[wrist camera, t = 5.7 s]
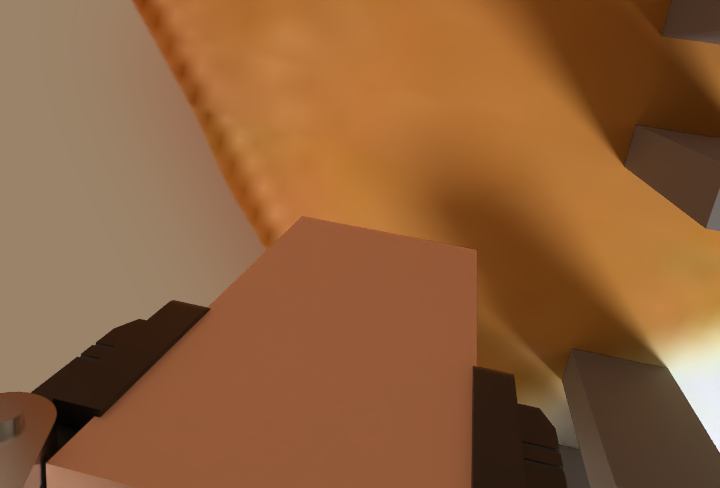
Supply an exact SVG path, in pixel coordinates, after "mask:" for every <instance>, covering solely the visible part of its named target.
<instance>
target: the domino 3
mask: <svg viewBox="0 0 720 488" xmlns="http://www.w3.org/2000/svg"><path fill="white" fill-rule="evenodd" d="M562 383H563V386H564V390H565V394H566V398H567V401H568V405H569V409H570V413H571V416H572V420H573V424H574V428H575V431H576V435H577V439H578V443H579V446H580V450H581V454H582V458H583V462H584V465H585V469H586V473H587V477H588V480H589V484H590V488H720V453H719V451H718V449H717V448H716V446H715V445H714V443H713V441H712V440H711V438H710V436H709V435H708V433H707V431H706V430H705V428H704V427H703V425H702V423H701V422H700V420H699V418H698V417H697V415H696V413H695V412H694V410H693V409H692V407H691V405H690V404H689V402H688V400H687V399H686V397H685V395H684V394H683V392H682V391H681V389H680V387H679V386H678V384H677V382H676V381H675V379H674V377H673V376H672V374H671V373H670V371H669V369H668V368H663V367H658V366H653V365H648V364H644V363H639V362H634V361H629V360H624V359H619V358H615V357H610V356H605V355H600V354H595V353H590V352H586V351H581V350H576V349H571V351H570V355H569V358H568V362H567V365H566V369H565V372H564V375H563V379H562Z"/></svg>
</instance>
